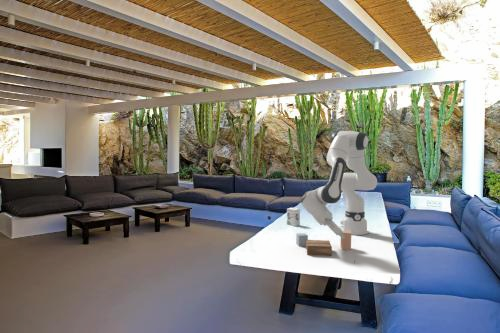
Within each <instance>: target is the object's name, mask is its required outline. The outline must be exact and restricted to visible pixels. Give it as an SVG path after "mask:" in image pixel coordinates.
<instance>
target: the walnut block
mask: <svg viewBox="0 0 500 333" xmlns="http://www.w3.org/2000/svg"><path fill="white" fill-rule="evenodd" d="M331 244H332V243H331V242H330V241H329V240H320V239H319V240H318V239H308V240H306V246H305V251H306V250H307V251H306V255H307V256H323V257H332V252H333V251H332V250H333V249H332V248H333V247H332V245H331Z"/></svg>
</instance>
